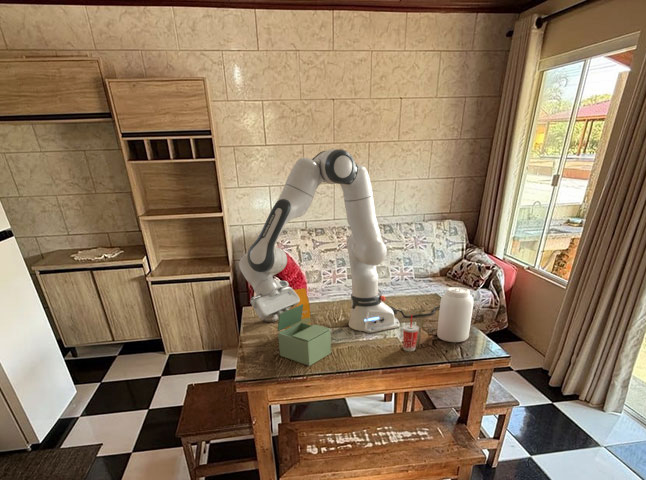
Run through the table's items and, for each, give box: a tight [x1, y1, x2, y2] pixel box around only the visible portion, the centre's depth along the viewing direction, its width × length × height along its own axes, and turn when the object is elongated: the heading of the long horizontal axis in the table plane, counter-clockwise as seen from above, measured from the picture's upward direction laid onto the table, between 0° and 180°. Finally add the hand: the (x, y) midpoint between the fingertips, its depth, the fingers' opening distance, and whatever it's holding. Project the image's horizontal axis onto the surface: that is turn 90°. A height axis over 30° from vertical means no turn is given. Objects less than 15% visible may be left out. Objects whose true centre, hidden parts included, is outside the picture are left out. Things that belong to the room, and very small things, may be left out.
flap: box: [277, 304, 303, 332], centre depth 154 cm, size 7×13×1 cm
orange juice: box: [285, 287, 312, 329], centre depth 169 cm, size 8×9×20 cm
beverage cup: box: [402, 314, 420, 352], centre depth 155 cm, size 6×6×14 cm
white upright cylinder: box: [436, 286, 475, 343], centre depth 162 cm, size 12×12×20 cm
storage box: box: [277, 322, 332, 367], centre depth 155 cm, size 15×13×10 cm
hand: (288, 320), depth 156 cm, fingers closed, pressing on flap
